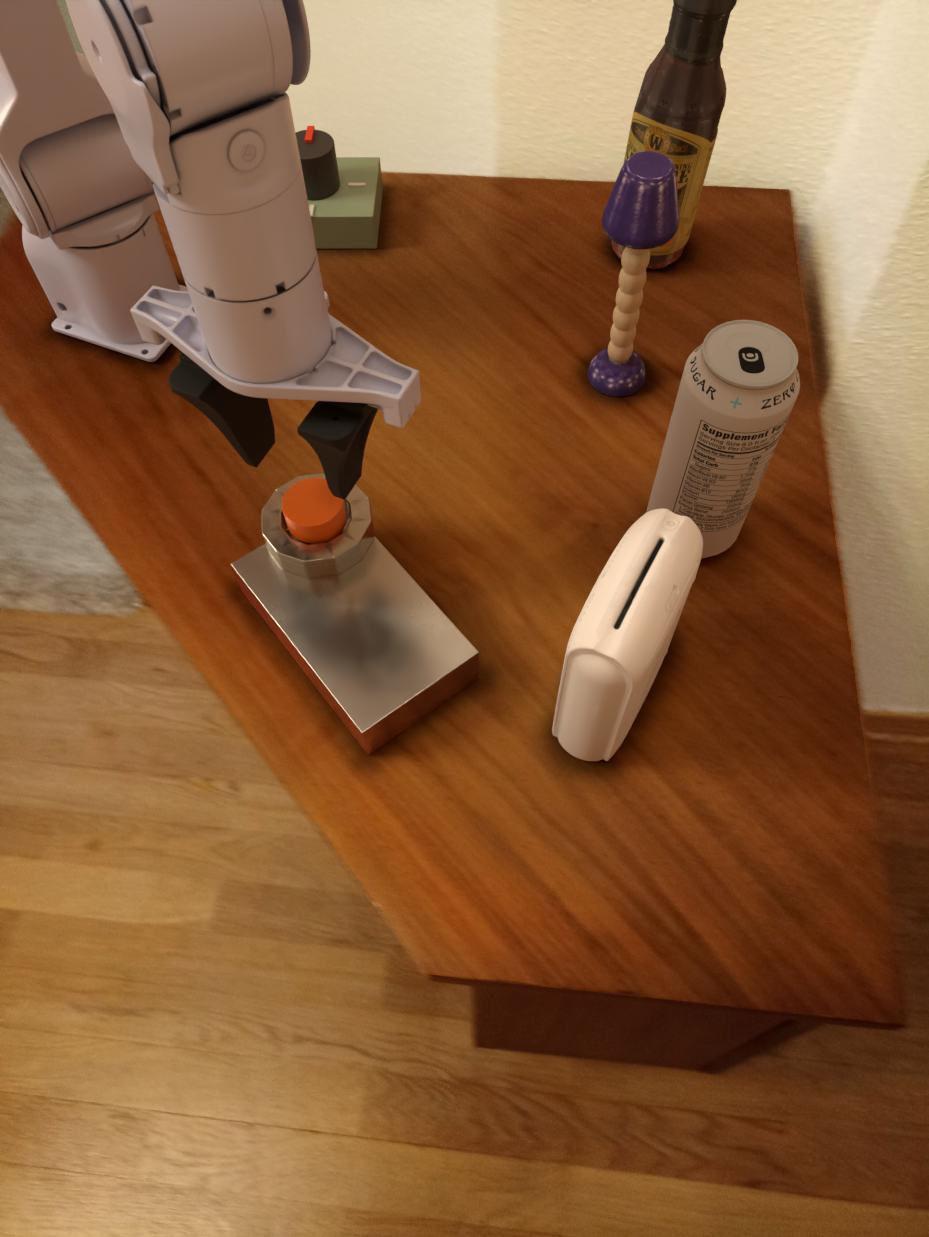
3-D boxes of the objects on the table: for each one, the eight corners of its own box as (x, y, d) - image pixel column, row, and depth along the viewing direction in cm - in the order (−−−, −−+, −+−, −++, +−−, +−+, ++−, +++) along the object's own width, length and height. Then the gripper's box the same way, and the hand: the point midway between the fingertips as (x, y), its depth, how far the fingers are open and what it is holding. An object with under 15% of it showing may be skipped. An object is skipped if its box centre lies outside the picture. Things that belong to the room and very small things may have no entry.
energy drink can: (729, 492, 59) (798, 311, 46) (742, 566, 56) (821, 395, 43) (639, 492, 59) (683, 312, 46) (648, 566, 56) (698, 395, 43)
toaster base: (228, 574, 56) (207, 527, 52) (342, 506, 59) (331, 456, 55) (368, 755, 50) (357, 719, 46) (488, 670, 53) (489, 628, 48)
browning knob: (337, 200, 71) (330, 155, 68) (288, 200, 71) (279, 155, 68) (342, 170, 73) (335, 125, 70) (294, 170, 73) (285, 125, 70)
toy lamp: (641, 406, 63) (688, 191, 49) (576, 397, 64) (605, 182, 50) (647, 360, 66) (694, 141, 51) (585, 351, 66) (614, 133, 52)
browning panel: (256, 249, 73) (247, 215, 70) (269, 189, 77) (261, 154, 74) (376, 249, 73) (373, 215, 70) (383, 189, 77) (379, 154, 74)
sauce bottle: (594, 256, 72) (630, -20, 55) (632, 216, 74) (678, -60, 57) (666, 286, 70) (726, 9, 53) (702, 243, 73) (771, -33, 55)
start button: (275, 515, 53) (269, 497, 52) (325, 486, 54) (321, 467, 53) (307, 554, 52) (302, 536, 50) (358, 523, 53) (355, 505, 51)
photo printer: (612, 606, 55) (644, 477, 44) (677, 634, 54) (726, 509, 43) (539, 742, 50) (556, 635, 40) (609, 776, 49) (645, 675, 39)
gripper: (444, 245, 37) (452, 458, 49) (160, 164, 41) (231, 382, 52) (367, 352, 34) (395, 554, 46) (64, 255, 37) (163, 466, 49)
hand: (303, 469), depth 49 cm, fingers open, 5 cm apart
